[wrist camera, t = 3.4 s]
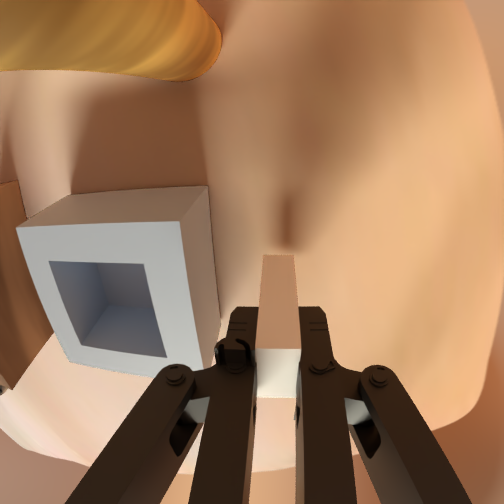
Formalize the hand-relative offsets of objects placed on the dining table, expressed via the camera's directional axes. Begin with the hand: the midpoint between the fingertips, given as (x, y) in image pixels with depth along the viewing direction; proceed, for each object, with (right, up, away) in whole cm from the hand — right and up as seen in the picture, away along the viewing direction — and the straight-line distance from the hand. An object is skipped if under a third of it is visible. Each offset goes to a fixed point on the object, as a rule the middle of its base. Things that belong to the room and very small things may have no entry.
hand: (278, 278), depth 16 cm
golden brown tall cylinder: (-5, +12, -3) cm, 13 cm away
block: (-8, +1, +2) cm, 8 cm away
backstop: (-18, +1, +3) cm, 19 cm away
